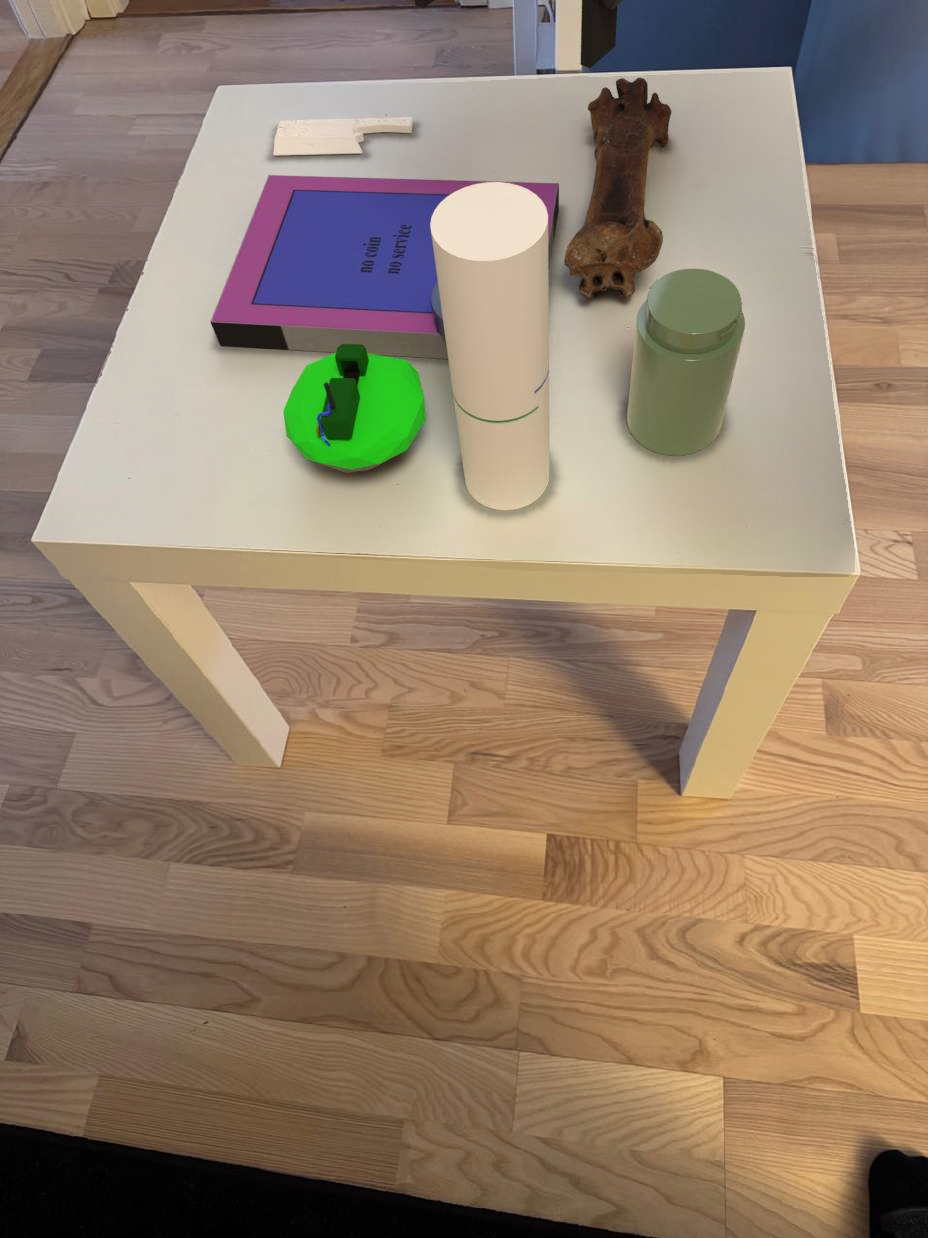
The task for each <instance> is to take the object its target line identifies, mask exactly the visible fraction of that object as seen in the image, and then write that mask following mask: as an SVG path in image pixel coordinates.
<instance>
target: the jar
mask: <svg viewBox="0 0 928 1238" xmlns="http://www.w3.org/2000/svg"><path fill="white" fill-rule="evenodd" d="M635 322H636V323H635V333H634V342H633V351H632V360H631V370H630V382H629V391H628V399H627V400H628V401H627V411H626V424H627V428H628V430H629V432H630V434H631V436H632V437H633V438H634V440H635V441H636V442H637V443H638V444H640V445H641V446H642V447H643V448H646V449H647V450H649V451H652V452H654V453H656V454H657V453H658V454H660V455H665V456H676V457H677V456H687V455H691V454H695V453H698V452H700V451H702V450H704V449H705V448H707V447H708V446H709V445H711V444H712V443H713V442H714V441H715V440H716V438H717V437H718V435H719V434H720V432H721V429H722V425H723V421H724V416H725V413H726V409H727V404H728V400H729V395H730V391H731V388H732V384H733V379H734V376H735V371H736V366H737V362H738V359H739V355H740V354H739V353H740V350H741V346H742V341H743V337H744V333H745V330H746V329H745V328H746V319H745V315H744V312H743V302H742V296H741V292H740V291H739V289H738V288H737V286H736V285H735V284H734V282H732V281H731V280H730V279H729V278H727V277H726V276H724V275H722V274H721V273H718V272H715V271H712V270H709V269H704V268H682V269H678V270H675V271H671V272H669V273H665V274H664V275H662V276H661V277H660V278H658V279H656V280H655V281H654V282H653V283H652V284H651V285H650V286H649V291H648V292H647V297H646V300H645V301H644V302H643V303H642V304H641V306H640V307H639V310H638V312H637V316H636V321H635Z"/></svg>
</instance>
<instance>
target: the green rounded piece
mask: <svg viewBox="0 0 928 1238" xmlns="http://www.w3.org/2000/svg"><path fill="white" fill-rule="evenodd" d="M282 414H283V420H284V426H285V433H286V436H287V438H288V439H289V440H290V442H291V443H292V444H293V445H294V446H295V447H296V449H297V450H298V451H299V452H300V453H301V455H302V456H303V457H304V458H305V459H306V460H307V461H311V462H313V463H317V464H320V465H323V466H326V467H328V468H331V469H333V470H337V471H339V472H342V473H346V474H347V473H356V472H363V471H371V470H373V469H374V468H376V467H378V466H380V465H381V464H384V463H385V462H387V461H389V460H391V459H393V458H395V457H396V456H399V455H400V454H402V453H405V452H406V451H408V449H409V447H410V446H411V445H412V442H414V439H415V438H416V437H417V435H418V433H419V432H420V430H421V428H422V427H423V425H424V424H425V422H426V406H425V396H424V391H423V387H422V383H421V379H420V374H419V371H418V369H416V368H415V367H414V365H412V364H411V363H410V362H409V361H408V360H407V359H403V358H398V357H393V356H386V355H376V354H368V353H367V351H366V348H365V347H364V346H363V344H341V345H340V346H339V347H338V348H337V351H336V353H334V352H333V353H331V354H329V355H327V356H325V357H322V358H320V359H317V360H315V361H313V362H310V363H308V364H306V365H305V367H304V369H303V371H302V372H301V374H300V376H299V377H298V379H297V380H296V382H295V384H294V386H293V387H292V389H291V391H290V394H289V397H288V398H287V401H286V403H285V405H284V408H283V410H282Z"/></svg>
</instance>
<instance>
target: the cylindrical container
mask: <svg viewBox="0 0 928 1238" xmlns="http://www.w3.org/2000/svg"><path fill="white" fill-rule="evenodd" d="M503 182H504V181H497V182H486V183H480V184H474V185H471V186H467V187H464V188H462V189H460V190H458V191H455V192H454V193H452V194H451V195H449V196H448V197H446V198H445V199H444V200H443V201H442V202H441V203H440V204H439V205H438V206H437V208H436V209H435V211H434V213H433V215H432V217H431V224H430V227H431V234H432V242H433V249H434V257H435V264H436V271H437V279H438V286H439V294H440V301H441V309H442V316H443V323H444V331H445V338H446V346H447V353H448V359H447V360H448V367H449V374H450V383H451V389H452V390H451V391H452V397H453V403H454V412H455V418H456V425H457V433H458V440H459V447H460V454H461V461H462V467H463V469H462V470H463V476H464V483H465V487H466V489H467V491H468V493H469V494H470V496H471V497H472V499H474V500H475V501H476V502H477V503H479V504H481V505H482V506H484V507H486V508H489V509H492V510H497V511H514V510H518V509H522V508H525V507H528V506H529V505H531V504H533V503H534V502H536V501H537V500H538V499H539V498H540V497H541V496H542V495H543V494H544V493H545V491H546V489H547V488H548V486H549V485H548V484H549V482H550V333H549V332H550V323H549V322H550V320H549V319H550V314H549V313H550V310H549V309H550V307H549V306H550V305H549V301H550V300H549V299H550V297H549V284H550V283H549V272H548V213H547V209H546V207H545V205H544V203H543V201H542V200H541V199H540V198H539V197H538V196H537V195H536V194H534V193H533V192H531V191H530V190H528V189H526V188H524V187H521V186H518V185H514V184H510V183H503Z"/></svg>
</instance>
